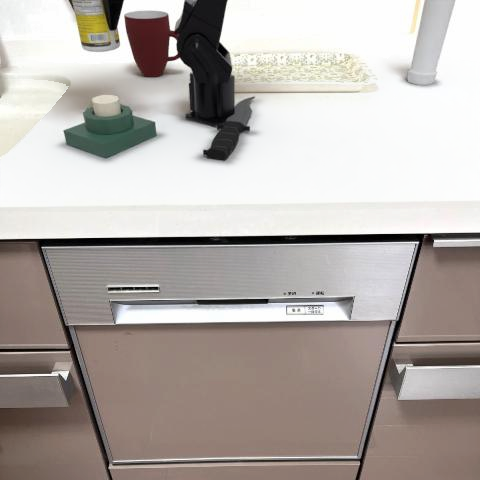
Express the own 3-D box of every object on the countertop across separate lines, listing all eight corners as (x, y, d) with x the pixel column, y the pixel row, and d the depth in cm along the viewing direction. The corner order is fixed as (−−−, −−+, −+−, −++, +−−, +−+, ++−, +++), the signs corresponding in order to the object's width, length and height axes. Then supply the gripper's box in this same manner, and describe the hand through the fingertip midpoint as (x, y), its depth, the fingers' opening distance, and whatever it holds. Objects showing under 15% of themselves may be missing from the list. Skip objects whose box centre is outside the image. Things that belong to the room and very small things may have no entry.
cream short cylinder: (126, 113, 66) (124, 98, 64) (107, 120, 64) (104, 105, 62) (108, 108, 67) (106, 93, 66) (89, 115, 65) (86, 99, 64)
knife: (236, 90, 81) (264, 92, 80) (236, 100, 82) (264, 102, 81) (199, 148, 62) (236, 151, 62) (199, 159, 63) (236, 163, 63)
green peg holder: (156, 135, 69) (153, 107, 67) (105, 158, 63) (100, 128, 60) (118, 123, 73) (113, 96, 70) (66, 144, 67) (59, 115, 64)
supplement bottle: (103, 42, 70) (89, -41, 64) (128, 47, 68) (116, -38, 61) (74, 49, 67) (56, -37, 61) (98, 55, 65) (82, -34, 58)
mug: (187, 68, 96) (183, 10, 89) (184, 80, 90) (180, 18, 83) (134, 68, 96) (127, 10, 89) (129, 80, 90) (120, 18, 83)
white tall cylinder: (405, 83, 89) (445, -92, 72) (406, 76, 93) (444, -93, 76) (434, 86, 88) (481, -92, 71) (434, 78, 92) (478, -92, 75)
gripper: (-38, -127, 54) (7, 29, 65) (73, -129, 47) (103, 48, 57) (41, -124, 61) (70, 17, 72) (149, -126, 54) (163, 32, 64)
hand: (98, 27), depth 66 cm, fingers closed on supplement bottle, 5 cm apart
